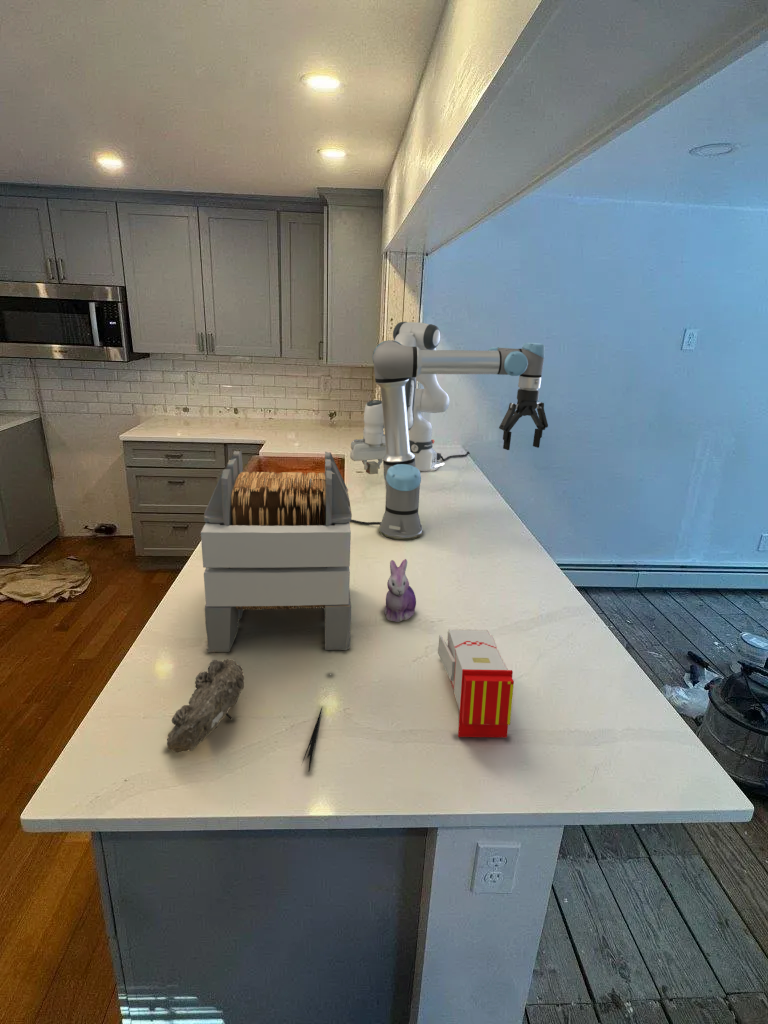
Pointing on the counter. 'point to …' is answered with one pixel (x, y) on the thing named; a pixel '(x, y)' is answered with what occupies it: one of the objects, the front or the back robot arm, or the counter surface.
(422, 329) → the back robot arm
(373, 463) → the metal block
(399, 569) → the figurine
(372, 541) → the counter surface
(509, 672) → the toy
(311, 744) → the feather
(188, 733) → the fossil
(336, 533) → the record storage crate
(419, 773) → the counter surface
